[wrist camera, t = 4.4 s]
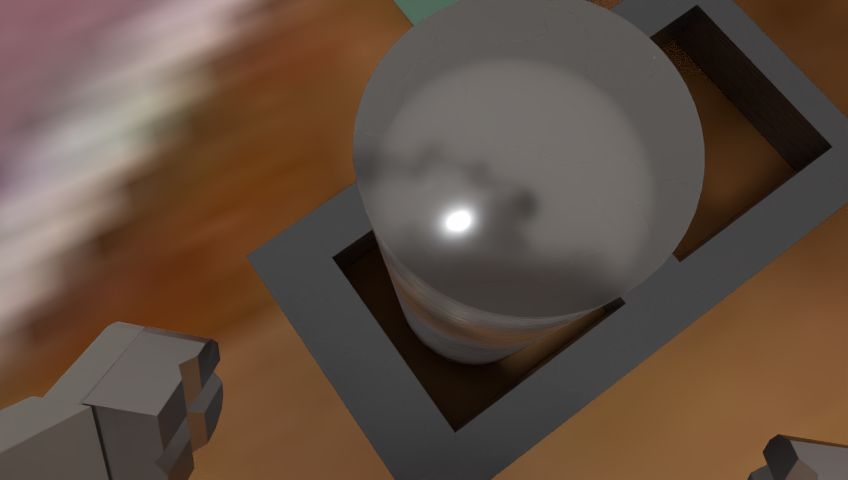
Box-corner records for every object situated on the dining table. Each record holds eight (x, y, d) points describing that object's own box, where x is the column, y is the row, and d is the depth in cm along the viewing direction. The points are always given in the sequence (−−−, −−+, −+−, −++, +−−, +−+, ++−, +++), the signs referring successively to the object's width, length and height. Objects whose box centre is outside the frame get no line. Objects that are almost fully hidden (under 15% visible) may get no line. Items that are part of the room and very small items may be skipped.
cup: (372, 275, 20) (286, 108, 8) (486, 194, 21) (554, -66, 9) (458, 395, 19) (495, 393, 7) (575, 307, 20) (779, 178, 8)
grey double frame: (264, 269, 20) (246, 256, 18) (667, -7, 22) (689, -45, 20) (428, 514, 18) (427, 528, 16) (850, 188, 20) (893, 166, 18)
